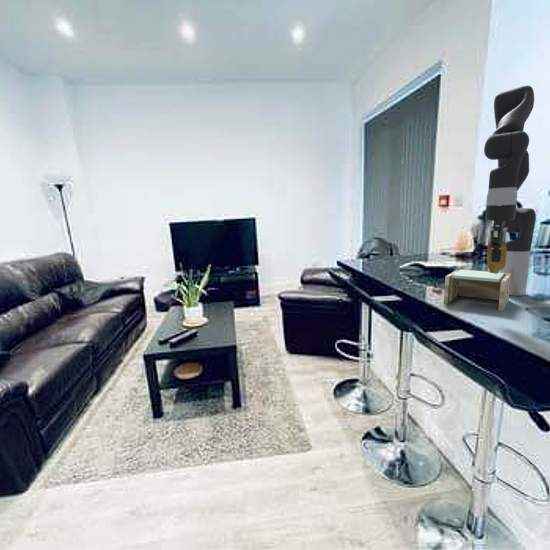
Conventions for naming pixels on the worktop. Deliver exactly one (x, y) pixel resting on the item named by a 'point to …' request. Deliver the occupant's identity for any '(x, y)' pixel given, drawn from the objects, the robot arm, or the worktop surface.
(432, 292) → the worktop surface
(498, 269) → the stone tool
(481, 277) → the trapdoor
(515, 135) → the robot arm
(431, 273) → the worktop surface
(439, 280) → the worktop surface
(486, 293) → the trapdoor frame
